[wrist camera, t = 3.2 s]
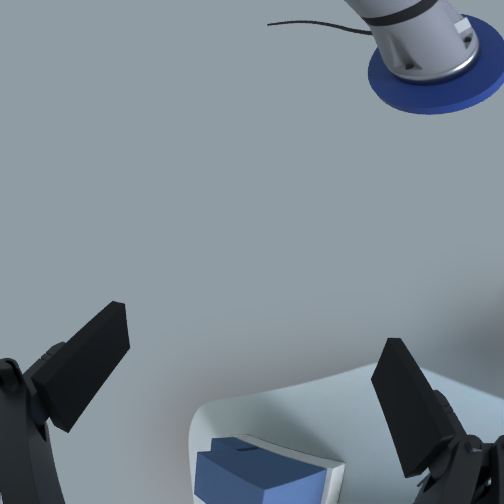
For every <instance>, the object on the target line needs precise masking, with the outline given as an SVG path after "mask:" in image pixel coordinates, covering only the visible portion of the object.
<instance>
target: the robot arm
mask: <svg viewBox="0 0 504 504" xmlns="http://www.w3.org/2000/svg"><path fill="white" fill-rule="evenodd" d="M344 1H346V2H347V3H348V4H349V5H350V6H351V7H352V8H353V9H354V11H355V12H356V13H357V14H358V15H359V16H360V17H361V18H362V19H363V20H364V21H365V22H366V23H367V25H368V26H369V27H370V29H371V31H364V30H357V29H352V28H347V27H343V26H339V25H335V24H330V23H324V22H317V21H287V22H279V23H271V24H267V25H268V26H269V25H278V24H288V23H312V24H320V25H326V26H331V27H335V28H339V29H342V30H346V31H350V32H354V33H360V34H366V35H373V36H374V38H375V41H376V43H377V46H378V49H379V51H380V54H381V56H382V59H383V61H384V64H385V65H386V66H387V68H388V69H389V70H390V72H391V73H392V74H393V75H394V77H396V78H397V79H398V80H400V81H402V82H404V83H407V84H411V85H418V86H431V85H438V84H443V83H447V82H450V81H453V80H455V79H458V78H460V77H462V76H463V75H465V74H466V73H468V72H469V71H470V70H472V69H473V68H474V67H475V65H476V64H477V63H478V61H479V59H480V56H481V44H480V42H479V39H478V37H477V35H476V33H475V31H474V29H473V28H472V27H471V25H470V23H469V21H468V19H467V17H466V18H463V16H462V15H461V14H459V12H458V11H457V10H456V9H455V8H454V7H453V6H452V5H451V4H450V3H449V2H448V1H447V0H344ZM129 349H130V344H129V336H128V328H127V320H126V310H125V304H124V303H119V302H115V301H112V302H111V303H110V304H108V305H107V306H106V307H105V308H104V309H103V310H102V311H101V312H99V313H98V314H97V315H96V316H95V317H94V318H93V319H91V321H89V322H88V323H87V324H86V325H85V326H84V327H83V328H82V329H80V331H78V332H77V333H76V334H75V335H74V336H73V337H72V338H71V339H70V340H69V341H68V342H66V343H65V342H60V343H58V344H56V345H54V346H52V347H51V348H50V349H49V350H48V351H47V352H46V354H44V355H42V356H41V359H38V360H37V361H36V362H35V363H34V364H33V365H32V366H31V367H30V368H29V369H28V370H27V371H26V372H25V373H24V374H23V375H22V372H21V370H20V368H19V365H18V363H17V362H16V361H15V360H13V359H11V358H4V359H0V493H1V495H2V501H3V504H65V501H64V498H63V494H62V491H61V487H60V484H59V481H58V476H57V472H56V468H55V463H54V459H53V454H52V448H51V444H50V437H49V430H48V425H47V423H46V421H47V419H48V418H49V417H50V419H51V421H52V422H53V424H54V426H56V427H58V428H60V429H61V430H63V431H65V432H67V433H69V431H70V430H71V428H72V427H73V425H74V424H75V423H76V421H77V420H78V418H79V417H80V415H81V414H82V413H83V411H84V410H85V408H86V407H87V405H88V404H89V403H90V401H91V400H92V398H93V397H94V396H95V394H96V393H97V392H98V390H99V389H100V388H101V386H102V385H103V383H104V382H105V381H106V379H107V378H108V377H109V375H110V374H111V373H112V371H113V370H114V369H115V367H116V366H117V365H118V363H119V362H120V361H121V359H122V358H123V356H124V355H125V354H126V353H127V351H128V350H129ZM371 381H372V384H373V386H374V389H375V391H376V394H377V397H378V399H379V402H380V405H381V408H382V410H383V413H384V416H385V419H386V421H387V424H388V427H389V430H390V433H391V436H392V439H393V442H394V445H395V448H396V451H397V454H398V457H399V460H400V463H401V466H402V470H403V473H404V476H405V478H409V477H413V476H417V475H421V474H422V473H423V472H424V471H425V470H426V469H427V468H429V471H430V473H429V474H428V475H427V476H426V477H425V478H424V479H423V480H422V481H421V482H420V483H419V484H418V485H417V487H419V486H420V485H421V484H422V483H423V485H422V487H421V489H420V491H419V493H418V495H417V497H416V499H415V501H414V503H413V504H504V435H502V436H500V437H499V438H498V439H497V440H496V441H495V443H483V442H482V441H481V440H480V439H479V438H478V437H477V436H475V435H470V434H469V435H467V434H466V432H465V430H464V429H463V427H462V425H461V423H460V421H459V420H458V418H457V416H456V414H455V413H453V409H452V407H451V406H450V404H449V402H448V401H447V399H446V397H445V396H444V395H443V394H442V393H440V392H439V391H438V390H432V388H431V386H430V384H429V383H428V381H427V379H426V378H425V376H424V374H423V373H422V371H421V370H420V368H419V366H418V365H417V363H416V362H415V360H414V358H413V357H412V355H411V354H410V352H409V351H408V349H407V347H406V346H405V344H404V343H403V341H402V340H401V339H400V338H388V339H387V342H386V344H385V347H384V349H383V352H382V355H381V357H380V359H379V362H378V364H377V366H376V369H375V371H374V373H373V376H372V378H371ZM490 479H491V484H490V485H488V480H490Z"/></svg>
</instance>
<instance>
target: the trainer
mask: <svg viewBox="0 0 504 504" xmlns="http://www.w3.org/2000/svg"><path fill="white" fill-rule="evenodd" d="M345 464H346V463H343V462H338V461H334V460H329V459H325V458H320V457H316V456H312V455H309V454H305V453H301V452H298V451H294V450H291V449H287V448H284V447H281V446H278V445H275V444H272V443H269V442H266V441H263V440H260V439H257V438H254V437H252V436H249V435H246V434H240V435H232V437H228V438H212V442H211V451H206V452H197V463H196V475H195V489H194V494H195V495H196V496H197V497H199V498H200V499H201V500H202V501H204V502H205V503H206V504H337V503H338V498H339V494H340V489H341V485H342V480H343V475H344V469H345Z"/></svg>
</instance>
